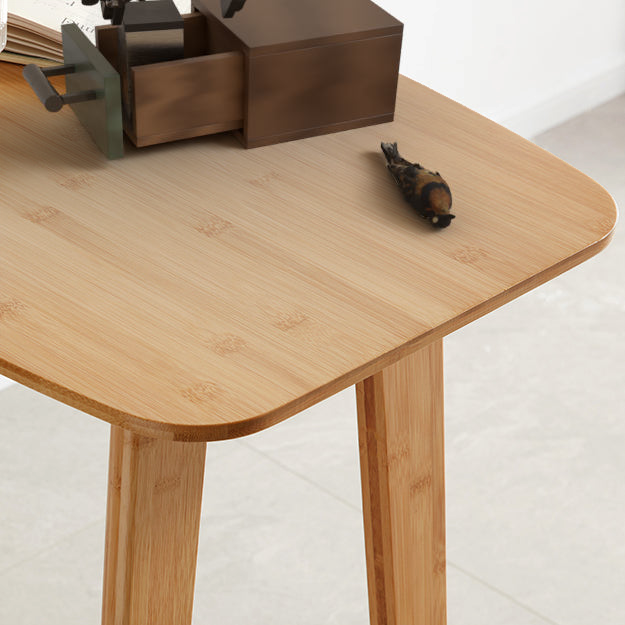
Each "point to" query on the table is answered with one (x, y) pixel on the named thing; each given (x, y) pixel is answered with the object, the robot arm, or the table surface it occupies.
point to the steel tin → (147, 40)
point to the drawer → (148, 87)
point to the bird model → (420, 187)
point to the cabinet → (312, 65)
